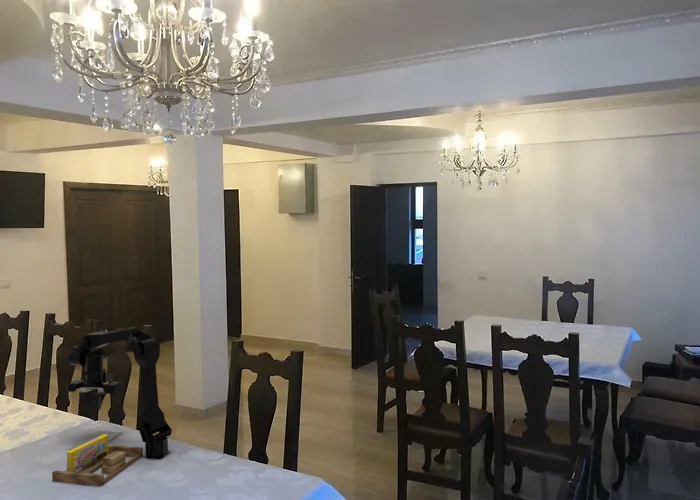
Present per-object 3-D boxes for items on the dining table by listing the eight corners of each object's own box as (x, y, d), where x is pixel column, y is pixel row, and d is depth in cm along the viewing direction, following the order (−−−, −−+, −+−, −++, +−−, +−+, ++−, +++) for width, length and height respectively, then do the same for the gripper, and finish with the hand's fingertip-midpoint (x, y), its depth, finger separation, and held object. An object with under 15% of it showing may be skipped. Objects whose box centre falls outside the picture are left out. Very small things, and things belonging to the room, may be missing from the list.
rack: (142, 456, 190) (142, 447, 189) (101, 486, 168) (101, 476, 168) (98, 452, 193) (98, 444, 193) (52, 482, 171) (52, 472, 171)
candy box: (71, 479, 173) (70, 452, 173) (66, 478, 174) (65, 451, 173) (109, 458, 188) (108, 434, 188) (104, 457, 189) (103, 433, 189)
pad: (122, 433, 211) (122, 432, 211) (91, 452, 193) (91, 450, 193) (100, 432, 212) (100, 430, 212) (68, 451, 195) (68, 449, 195)
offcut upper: (125, 459, 182) (125, 452, 181) (111, 467, 176) (111, 459, 176) (116, 458, 183) (116, 450, 183) (102, 465, 177) (102, 457, 177)
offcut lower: (125, 466, 183) (125, 458, 182) (113, 475, 176) (113, 467, 176) (114, 465, 183) (114, 457, 183) (101, 474, 176) (101, 466, 176)
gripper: (130, 363, 208) (131, 404, 208) (85, 361, 211) (87, 402, 212) (112, 370, 197) (113, 414, 197) (65, 368, 200) (66, 411, 201)
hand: (95, 410), depth 202 cm, fingers closed
